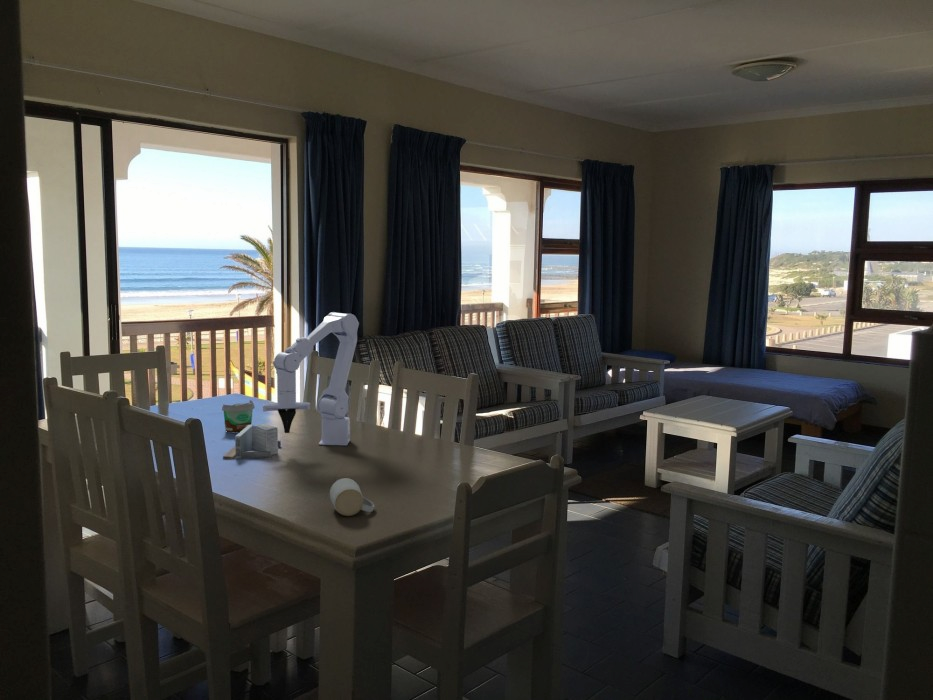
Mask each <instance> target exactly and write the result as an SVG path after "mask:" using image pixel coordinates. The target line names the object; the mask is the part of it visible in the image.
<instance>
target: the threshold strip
mask: <svg viewBox="0 0 933 700" xmlns="http://www.w3.org/2000/svg"><path fill="white" fill-rule="evenodd" d="M222 459H223V460H234V459H236V451H235V445H234V446H233V447H232V448H231V449H229V451H228V452H227V453H225V454H224V455H223V457H222Z"/></svg>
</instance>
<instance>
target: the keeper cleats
mask: <svg viewBox="0 0 933 700" xmlns="http://www.w3.org/2000/svg"><path fill="white" fill-rule="evenodd" d="M281 444H282V441H281V440H278V448H281V447H280V446H281ZM265 458H270V459H272V455H271V451H252V450H249V451H241V458H240V459H265Z"/></svg>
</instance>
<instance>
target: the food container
mask: <svg viewBox="0 0 933 700" xmlns="http://www.w3.org/2000/svg"><path fill="white" fill-rule="evenodd" d="M254 409H255V404H254V401H253V400H251V399H249V402H247V403H246V402H245V403H235V404H229V405H228V404H222V408H221V411H223V417H224V428H225V432H226V431H227V432H226V433H228V432H241V431H242V430H243V429H244V428H246V427H247V426H248V425H252V420H253V410H254Z"/></svg>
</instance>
